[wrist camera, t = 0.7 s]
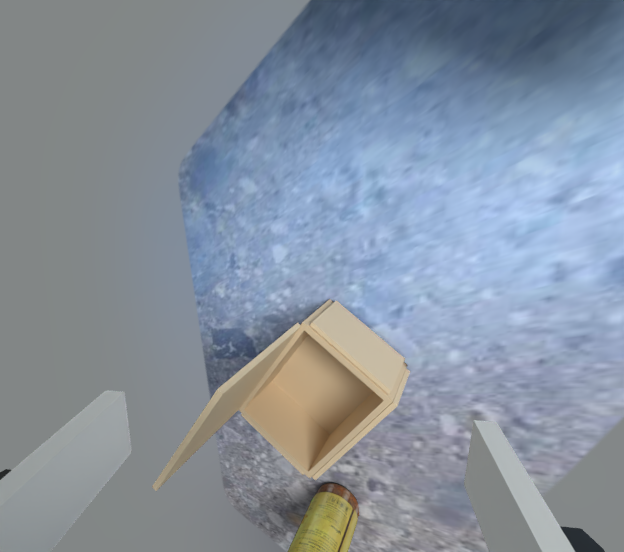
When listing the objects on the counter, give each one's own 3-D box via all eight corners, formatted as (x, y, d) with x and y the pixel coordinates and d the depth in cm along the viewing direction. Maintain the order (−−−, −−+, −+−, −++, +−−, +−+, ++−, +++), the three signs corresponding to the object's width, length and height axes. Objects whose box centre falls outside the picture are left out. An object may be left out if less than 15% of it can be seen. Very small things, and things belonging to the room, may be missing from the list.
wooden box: (332, 295, 41) (305, 317, 35) (415, 365, 39) (402, 402, 33) (267, 380, 48) (235, 411, 42) (333, 443, 46) (311, 485, 40)
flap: (296, 321, 35) (216, 388, 25) (301, 325, 35) (222, 394, 24) (235, 405, 42) (151, 485, 31) (238, 409, 42) (156, 491, 31)
